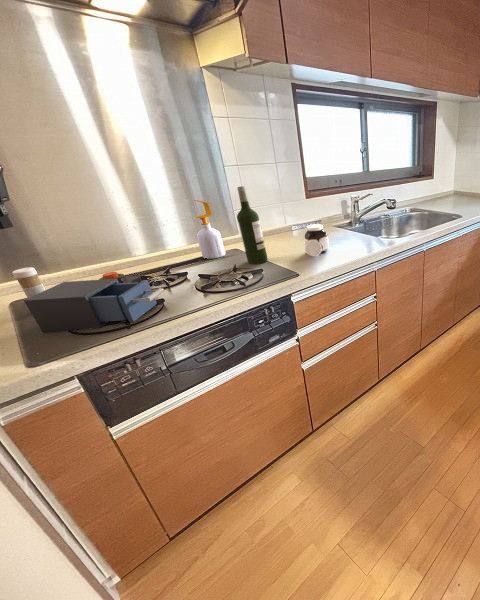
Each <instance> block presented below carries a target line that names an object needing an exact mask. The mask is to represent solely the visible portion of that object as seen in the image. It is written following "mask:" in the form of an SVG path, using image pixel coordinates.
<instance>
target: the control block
mask: <svg viewBox="0 0 480 600" xmlns="http://www.w3.org/2000/svg"><path fill="white" fill-rule="evenodd" d="M118 276H119V277H117V278H114V279H117V280H118V282H119V284H120V283H136V282H138V283H140V282H141V281H143V279H142V277H141V275H131V276H130V275H129V276H125V274H124V273H118ZM103 279H104V278H103V276H102V277H100V278H98V280H103Z"/></svg>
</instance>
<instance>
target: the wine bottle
mask: <svg viewBox="0 0 480 600" xmlns="http://www.w3.org/2000/svg"><path fill="white" fill-rule="evenodd" d="M236 189H237V193H238V197H239V203H240V210H239V211H238V213H237V215H236V220H237V224H238V228H239V232H240V236H241V240H242V244H243V249H244V252H245V257H246V260H247V263H248V264H250V265H260V264H263V263H266V262H268V253H267V249H266V245H265V239H264V235H263V231H262V225H261V221H260V217H259V214H258V212H256V211H255V210H254V209H252V208H251V206H250V203H249V198H248V194H247V192H246V187H245V186H244V185H243V186H237V188H236Z"/></svg>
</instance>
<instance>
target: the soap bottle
mask: <svg viewBox="0 0 480 600" xmlns="http://www.w3.org/2000/svg"><path fill="white" fill-rule="evenodd" d="M192 202H198V203H202V205H203V208H204V211H205V214H202V215H196V216H195V218H196V219H199V220H201V221H202V222H200V227H201V229H200V230H198V232H197V233H196V240H197V243H198V246H199V249H200V250H199V251H200V252H201V256H202V258H203V259H205V258H207V259H206V260H214V259H219V258H222V257H224V256H226V250H225V247H224V243H223V239H222V235H221V232H220V231H219V230H217V229H215V228H213V227H211V223H210V221H208V218H210V217H212V215H213V214H212V210H211V206H210V204H209V202H208V201H204V200H196V199H192Z"/></svg>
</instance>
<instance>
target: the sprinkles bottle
mask: <svg viewBox="0 0 480 600" xmlns="http://www.w3.org/2000/svg"><path fill="white" fill-rule="evenodd" d="M11 275H12V276H13V277H14V278H15V280H17V282H18V284H19V285H20V288H21V289H22V291H23V293H24V294H25V296H26V299H28V298H30V297H32V296H34V295H37V294H39V293H41V292H43V291H45V290H47V289H46V287H45V286H44V284H43V282H42V280H41V279H40V277H39V274H38V271H37V270H36V268H35V267H30V266H29V267H23V268H19V269H15V270H12V274H11Z"/></svg>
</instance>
